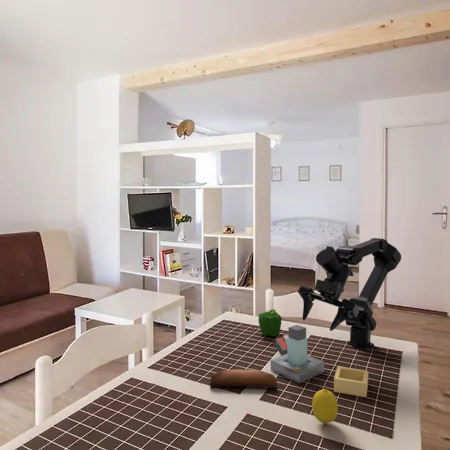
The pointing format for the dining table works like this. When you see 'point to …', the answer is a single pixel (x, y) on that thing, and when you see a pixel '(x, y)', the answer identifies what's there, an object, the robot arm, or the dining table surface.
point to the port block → (297, 368)
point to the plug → (297, 346)
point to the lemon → (324, 406)
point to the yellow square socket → (351, 381)
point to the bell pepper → (270, 323)
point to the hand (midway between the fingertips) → (316, 325)
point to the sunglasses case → (243, 379)
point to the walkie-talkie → (282, 344)
